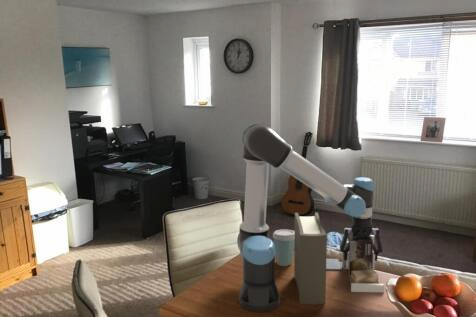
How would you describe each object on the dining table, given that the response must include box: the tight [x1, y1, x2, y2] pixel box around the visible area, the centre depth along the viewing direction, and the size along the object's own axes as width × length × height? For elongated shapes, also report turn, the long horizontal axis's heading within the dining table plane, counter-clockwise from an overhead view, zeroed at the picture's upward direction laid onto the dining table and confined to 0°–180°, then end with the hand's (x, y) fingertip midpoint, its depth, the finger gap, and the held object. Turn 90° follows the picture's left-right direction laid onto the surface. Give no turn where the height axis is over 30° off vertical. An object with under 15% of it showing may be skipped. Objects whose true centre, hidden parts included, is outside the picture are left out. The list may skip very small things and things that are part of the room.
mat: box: [326, 258, 342, 271], centre depth 181 cm, size 10×10×1 cm
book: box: [293, 212, 328, 305], centre depth 158 cm, size 22×9×28 cm, turn 178°
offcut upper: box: [351, 269, 379, 283], centre depth 162 cm, size 9×5×3 cm, turn 97°
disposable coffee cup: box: [272, 228, 295, 267], centre depth 182 cm, size 11×11×15 cm
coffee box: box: [348, 234, 373, 278], centre depth 169 cm, size 9×6×16 cm
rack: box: [341, 234, 385, 293], centre depth 166 cm, size 13×20×15 cm, turn 175°
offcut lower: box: [349, 277, 380, 284], centre depth 162 cm, size 10×5×3 cm, turn 88°
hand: (360, 267), depth 170 cm, fingers closed on coffee box, 9 cm apart
